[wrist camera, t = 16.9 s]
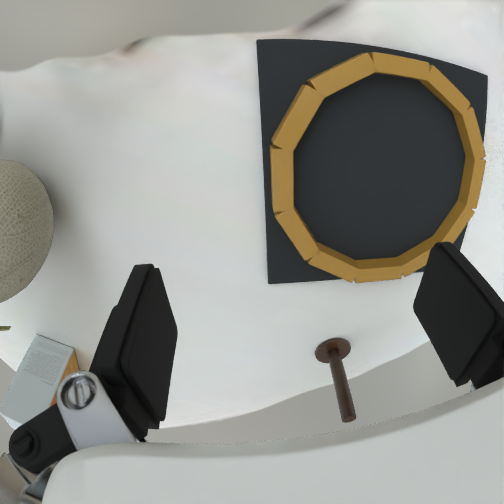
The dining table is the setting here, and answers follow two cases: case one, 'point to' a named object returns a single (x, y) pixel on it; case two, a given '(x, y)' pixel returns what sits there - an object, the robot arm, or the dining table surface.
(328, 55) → the mat
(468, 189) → the ring
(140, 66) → the dining table surface
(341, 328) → the dining table surface
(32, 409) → the small box
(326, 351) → the post
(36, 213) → the fruit
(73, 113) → the dining table surface
